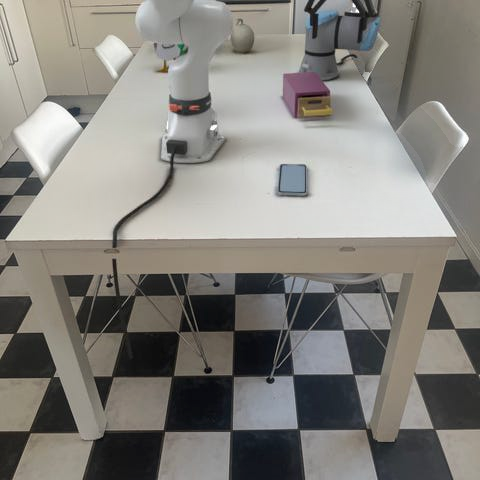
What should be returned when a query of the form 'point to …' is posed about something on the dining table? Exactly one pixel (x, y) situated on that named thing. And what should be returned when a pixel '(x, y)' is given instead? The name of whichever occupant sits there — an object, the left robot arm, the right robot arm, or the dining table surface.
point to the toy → (169, 52)
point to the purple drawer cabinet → (301, 88)
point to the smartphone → (292, 179)
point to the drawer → (314, 106)
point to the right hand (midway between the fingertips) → (336, 39)
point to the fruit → (242, 37)
